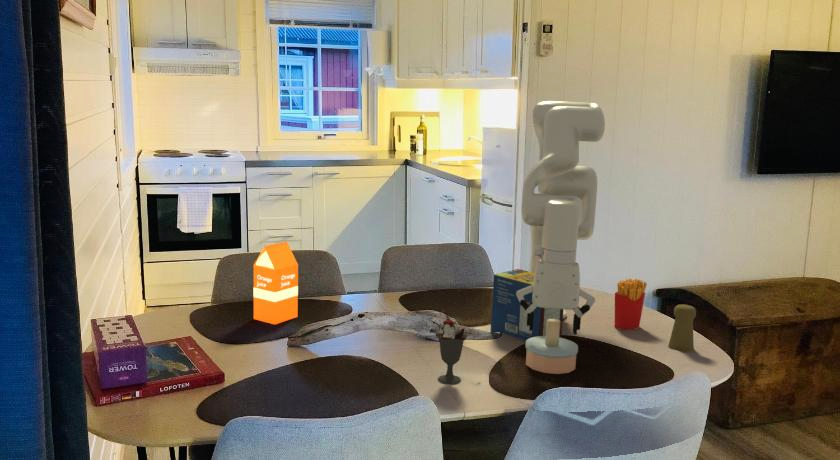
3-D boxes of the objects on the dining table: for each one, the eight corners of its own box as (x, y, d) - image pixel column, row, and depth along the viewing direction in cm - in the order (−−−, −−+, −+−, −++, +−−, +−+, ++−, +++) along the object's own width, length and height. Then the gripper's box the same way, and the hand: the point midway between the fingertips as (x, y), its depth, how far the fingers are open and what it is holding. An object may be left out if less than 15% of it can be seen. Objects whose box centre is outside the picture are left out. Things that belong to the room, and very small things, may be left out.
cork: (695, 353, 176) (700, 310, 174) (670, 350, 177) (674, 307, 175) (691, 345, 182) (696, 303, 180) (666, 342, 183) (671, 301, 181)
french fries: (619, 330, 192) (623, 283, 189) (609, 325, 196) (613, 279, 193) (646, 327, 196) (650, 281, 193) (635, 322, 199) (639, 277, 197)
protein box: (514, 324, 194) (517, 268, 191) (562, 339, 183) (566, 280, 180) (489, 332, 186) (492, 273, 184) (537, 347, 176) (541, 286, 173)
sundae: (431, 374, 156) (434, 307, 153) (462, 374, 157) (466, 307, 154) (435, 385, 149) (438, 316, 147) (467, 386, 150) (470, 316, 147)
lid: (515, 348, 161) (517, 320, 160) (541, 336, 170) (543, 310, 169) (562, 361, 154) (564, 332, 153) (586, 348, 163) (589, 321, 162)
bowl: (516, 367, 162) (517, 348, 161) (540, 355, 170) (542, 337, 169) (559, 380, 155) (561, 361, 154) (583, 367, 163) (584, 348, 163)
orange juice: (298, 316, 192) (298, 243, 189) (274, 324, 185) (275, 248, 182) (276, 311, 197) (276, 239, 193) (252, 318, 189) (252, 244, 186)
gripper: (518, 257, 156) (513, 332, 159) (600, 263, 153) (593, 339, 156) (519, 250, 163) (514, 322, 166) (597, 255, 160) (590, 328, 164)
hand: (552, 330), depth 161 cm, fingers open, 9 cm apart
